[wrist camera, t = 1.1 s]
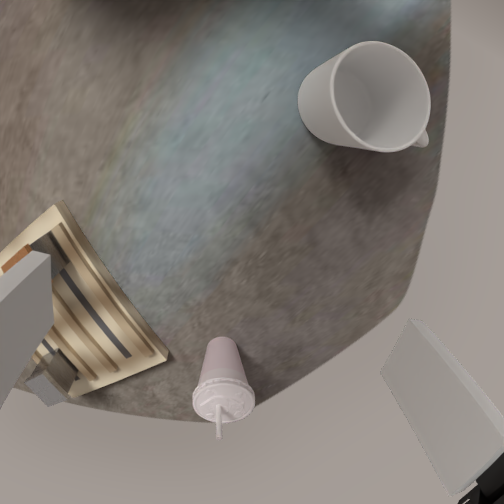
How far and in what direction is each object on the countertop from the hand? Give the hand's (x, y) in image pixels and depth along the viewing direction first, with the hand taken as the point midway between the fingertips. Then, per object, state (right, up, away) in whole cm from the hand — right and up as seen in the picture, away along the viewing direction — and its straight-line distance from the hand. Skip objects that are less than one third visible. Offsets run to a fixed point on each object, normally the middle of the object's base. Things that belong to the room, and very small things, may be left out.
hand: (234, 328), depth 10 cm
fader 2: (-25, -12, +25) cm, 37 cm away
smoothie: (-3, -9, +28) cm, 30 cm away
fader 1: (-21, +2, +19) cm, 29 cm away
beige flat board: (-23, -5, +24) cm, 34 cm away
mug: (+11, +17, +20) cm, 28 cm away
